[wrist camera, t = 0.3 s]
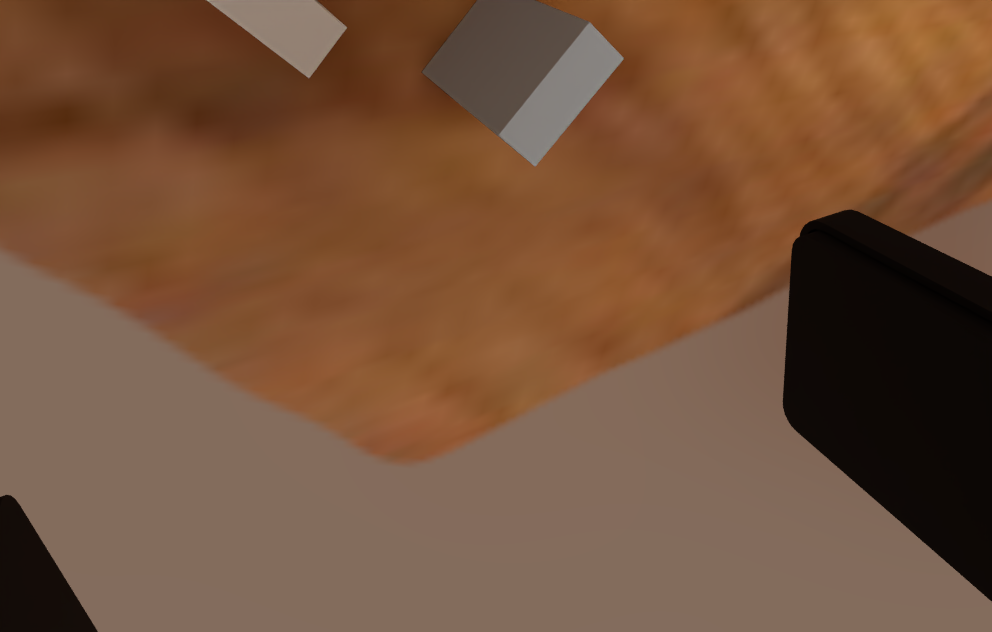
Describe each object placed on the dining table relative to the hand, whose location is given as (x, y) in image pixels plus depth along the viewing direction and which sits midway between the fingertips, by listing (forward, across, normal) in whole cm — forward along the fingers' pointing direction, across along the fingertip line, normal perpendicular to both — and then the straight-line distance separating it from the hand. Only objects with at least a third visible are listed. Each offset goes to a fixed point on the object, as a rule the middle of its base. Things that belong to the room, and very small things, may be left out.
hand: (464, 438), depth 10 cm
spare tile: (+30, -10, +3) cm, 31 cm away
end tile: (+29, 0, -3) cm, 30 cm away
